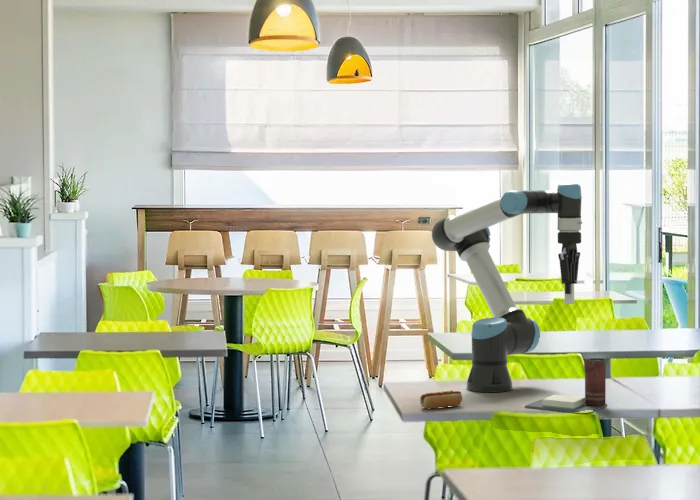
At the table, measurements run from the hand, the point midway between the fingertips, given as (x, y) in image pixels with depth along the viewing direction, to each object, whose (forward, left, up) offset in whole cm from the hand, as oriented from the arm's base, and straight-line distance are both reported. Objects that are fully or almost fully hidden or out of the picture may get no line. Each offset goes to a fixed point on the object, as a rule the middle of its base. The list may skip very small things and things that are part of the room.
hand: (569, 303), depth 348 cm
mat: (+8, -22, -29) cm, 38 cm away
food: (-24, -43, -30) cm, 57 cm away
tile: (+8, -19, -28) cm, 35 cm away
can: (+16, -18, -29) cm, 38 cm away
